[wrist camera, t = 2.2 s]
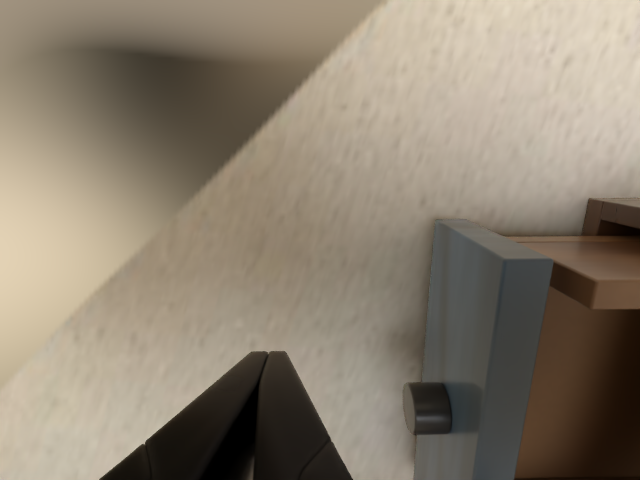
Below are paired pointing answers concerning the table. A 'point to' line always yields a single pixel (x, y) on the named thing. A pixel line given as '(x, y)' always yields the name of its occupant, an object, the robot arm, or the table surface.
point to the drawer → (528, 358)
